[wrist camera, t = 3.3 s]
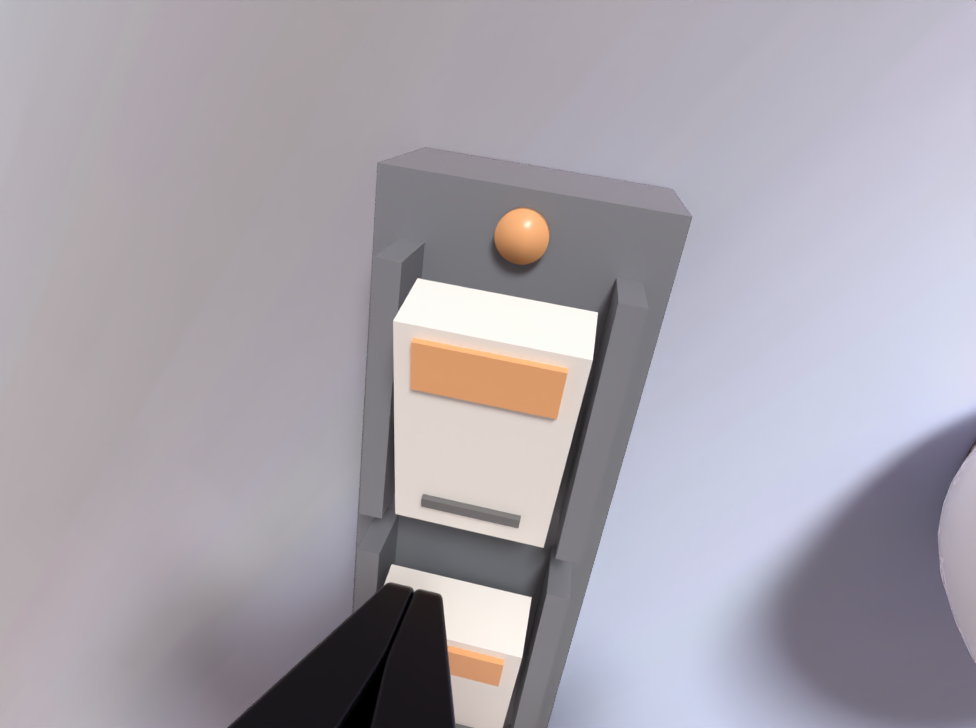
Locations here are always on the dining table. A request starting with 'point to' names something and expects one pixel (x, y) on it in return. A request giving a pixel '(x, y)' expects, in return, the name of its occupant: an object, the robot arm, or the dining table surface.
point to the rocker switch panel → (536, 276)
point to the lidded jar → (960, 549)
